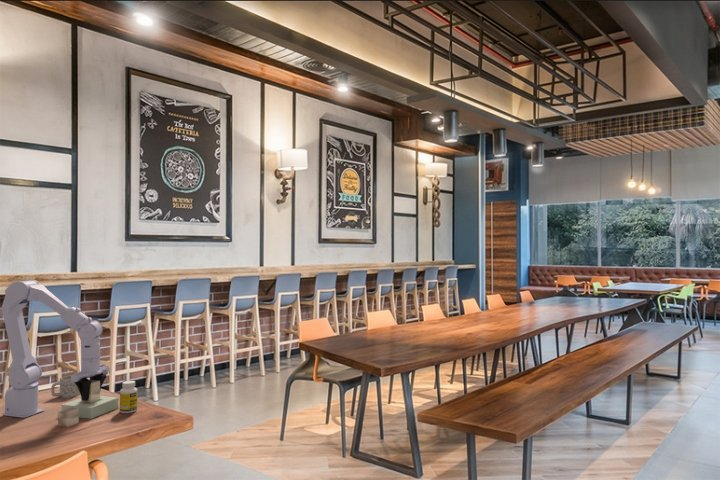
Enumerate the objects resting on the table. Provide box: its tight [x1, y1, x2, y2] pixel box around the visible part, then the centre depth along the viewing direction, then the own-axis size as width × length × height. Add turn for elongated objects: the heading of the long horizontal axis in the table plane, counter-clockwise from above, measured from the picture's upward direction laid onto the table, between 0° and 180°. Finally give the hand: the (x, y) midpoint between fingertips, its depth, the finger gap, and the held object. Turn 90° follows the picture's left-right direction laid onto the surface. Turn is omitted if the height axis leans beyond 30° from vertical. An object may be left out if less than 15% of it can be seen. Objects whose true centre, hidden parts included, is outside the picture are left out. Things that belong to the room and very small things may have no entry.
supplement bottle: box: [119, 380, 138, 414], centre depth 179 cm, size 5×5×10 cm
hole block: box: [61, 395, 119, 420], centre depth 179 cm, size 12×12×4 cm
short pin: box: [57, 407, 80, 428], centre depth 167 cm, size 4×4×4 cm
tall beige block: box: [80, 380, 101, 404], centre depth 179 cm, size 4×4×8 cm
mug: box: [50, 374, 81, 399], centre depth 197 cm, size 10×7×7 cm, turn 145°
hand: (90, 398), depth 179 cm, fingers closed on tall beige block, 4 cm apart
